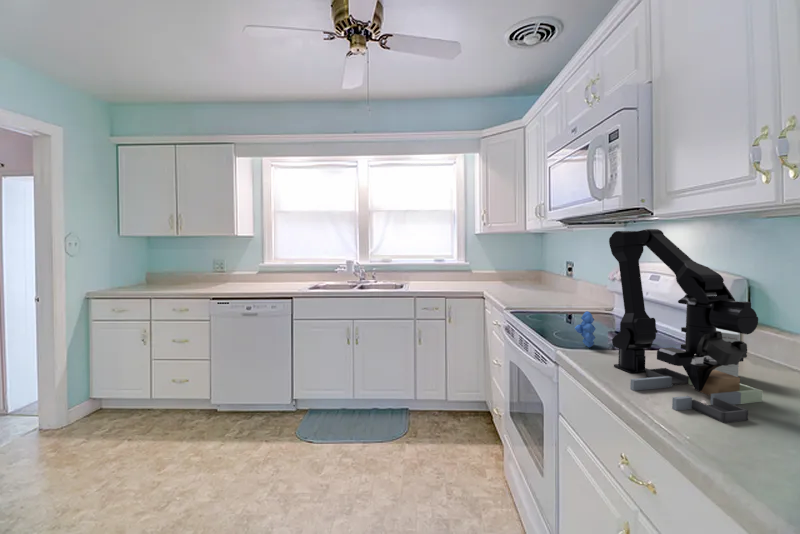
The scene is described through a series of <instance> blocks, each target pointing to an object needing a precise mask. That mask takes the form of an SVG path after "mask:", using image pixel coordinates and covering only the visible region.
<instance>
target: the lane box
mask: <svg viewBox="0 0 800 534" xmlns="http://www.w3.org/2000/svg"><path fill="white" fill-rule="evenodd" d="M629 384H630V385H629V386H630V388H629V389H630V390H631V391H642V390H643V391H644V390H655V389H656V390H657V389H666V388H672V387H673V386H679V385H681V386H682V385H689V386H693V384H692V382H691V380H690V378H689V376H688V375H687V374H683V373H680V372H677V371H674V370H671V369H669V368H666V367H660V368H651V369H650V368H647V369H646V372H645V377H639V378H630V383H629ZM763 392H764V391H763V390H762V389H758V388H756V387H752V386H749V385H746V384H743V383H741V382H740V391H734V392H723V393H713V394H711V396H710V403H709V404H706V403H703V402H700V401H698V400H696V399H693V397H692V396H689V395H684V396H674V397H673V396H672V398H671V399H672V402H671V405H672V406H671V407H672V408H671V409H672V410H674V411H683V410H684V411H685V410H693V411H695V412H698V413H700V414H703V415H705V416H707V417H709V418H712V419H714V420H716V421H718V422H720V423H723V424H727V423H735V422H743V421H744V422H745V421H749V410H748V409H746V408H743V407H740V406H737V405H741V404H742V405H743V404H753V403H762V402H763V396H764V395H763V394H764V393H763Z"/></svg>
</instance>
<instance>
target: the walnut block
mask: <svg viewBox="0 0 800 534" xmlns="http://www.w3.org/2000/svg"><path fill="white" fill-rule="evenodd" d="M740 383H741V377H739V376H738V377H736V376H733V375H730V374H727V373H723V372H720V371H717V370H712V372H711V373H710V375H709V377H708V379H707V381H706V383H705V385H704V387H703V389H702V391H698V392H700V393H702V394H704V395H707V396H709V397H711V394H713V393H723V392H734V391H740ZM693 389H694V391H696V390H695V388H694V387H693Z"/></svg>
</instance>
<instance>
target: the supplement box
mask: <svg viewBox="0 0 800 534" xmlns="http://www.w3.org/2000/svg"><path fill="white" fill-rule="evenodd" d="M716 331H721V333H722V340H724V341H730V342H731V343H732V342H734V341H741V340H740V335H741V333H737V332H732V331H727V330H722V329H718V328H716ZM739 364H740V362H739V363H738V365H734V364H732V365H727V366H724V365H722V366H719V367H717V368H715V369H713V370H717V371H720V372H723V373H727V374H730V375H733V376H736V377H739V367H740V366H739Z"/></svg>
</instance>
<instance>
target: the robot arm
mask: <svg viewBox="0 0 800 534" xmlns="http://www.w3.org/2000/svg"><path fill="white" fill-rule="evenodd" d="M608 244H609V248H610V252H611V254H612V256H613V257H614V259H615V260H616V261H617V262H618V265H619V266H618V267H619V274H620V283H621V291H622V299H623V300H622V301H623V308H624V314H623V316H622V318H621V321H620V323H619V332H618V333H616V335H614V337H613V338H611V341H612V342H611V343H612V346H613V348H617V349H618V363H616V364H613V367H614V368H617V369H620V370H622V371H624V372H627V373H631V374H633V373H641V372H642V373H646V369H648V368H647V367H646V350H645V349H652V345H653V342H654V341H655V340H656V338H657V333H658V332H659V331H658V329H657V324H656V323H657V322H656V318H655V317H650V316H649V315H648V313H647V312H646V308H645V299H644V293H643V292H644V291H643V285H642V284H643V283H642V276H641V275H642V274H641V269H640V267H641V266H640V259H641V257H642V254H643V253H644V247H646V248H647V249H648V250H650V251H651V252H652V253H653V254H654V255H655V256H656V257H657V258H658V259H659V260H660V261H661V263H664V265H666V267H668V269H670V270H671V271H672V273H673V274H674V275H675V280H676V283H677V285H678V286H679V287H680V288H681V290H682V291H683V292H684V294H685V295H684V296H683V297H682V298H680V299H679V300H677V303H678V304H681V305H682V304H683V305H686V313H685V314H686V315H685V326H683V327H681V328H680V331H681V333H685V339H684V340H685V341H684V343H680V349H679V348H676V347H660V348H659V349H657V350H656V360H658V361H660V362H663V363H666V364H670V365H672V366H676V367H682V368H683V370H684V371H685V373H686V375H687V376H689V378H690V380H691V382H692V384H693V385H692V387H693V389H694V388H695V390H694V391H697V392H699V391H702V389H703V387H704V385H705V383H706V381H707V379H708V377H709V375H710V373H711V372H712V370H713V369H715V368H717V367H719V366H722V365H724V366H727V365H732V364H734V365H738V363H739V364H740V363H741V362H744V358H745V359H746V358H747V357H748V345H747V343H746V342H744V341H743V340H740V341H734V342H732V343H731V342H730V341H724V340H722V333H721V331H716V328H718V329H722V330H727V331H732V332H737V333H739V334H742V335H750V334H752V333H753V332H754V331H756V329H757V327H758V324H759V317H758V314H757V312H756V311H755V309H753V308H752V303H751V302H750V301H744V300H742V301H738V300H736V299H735V297H734V296H733V295H732V293H731V291H730V290H729V289H728V287H727V286H726V284H725V283H724V281H725V280H724V278H723V277H722V275H721V274H720V273H718V272H717V271H715V270H713V269H712V268H710V267H708V266H705V265H703V264H700V263H698V262H696V261H694V260H693V259H692V258H691V257H690V256H689V255H687V254H686V253H685V252H684V251H682V249H681V248H680V247H679V246H677V245H676V244H675V243H674V242H673V241H671V240H670V239H669V238H668V237H667V236H665V234H664V232H663V231H662V230H660V229H657V228H645V229H642V230H637V231H636V230H615V231H614V232H613V233H612V234H611V235H610V237H609V240H608Z"/></svg>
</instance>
